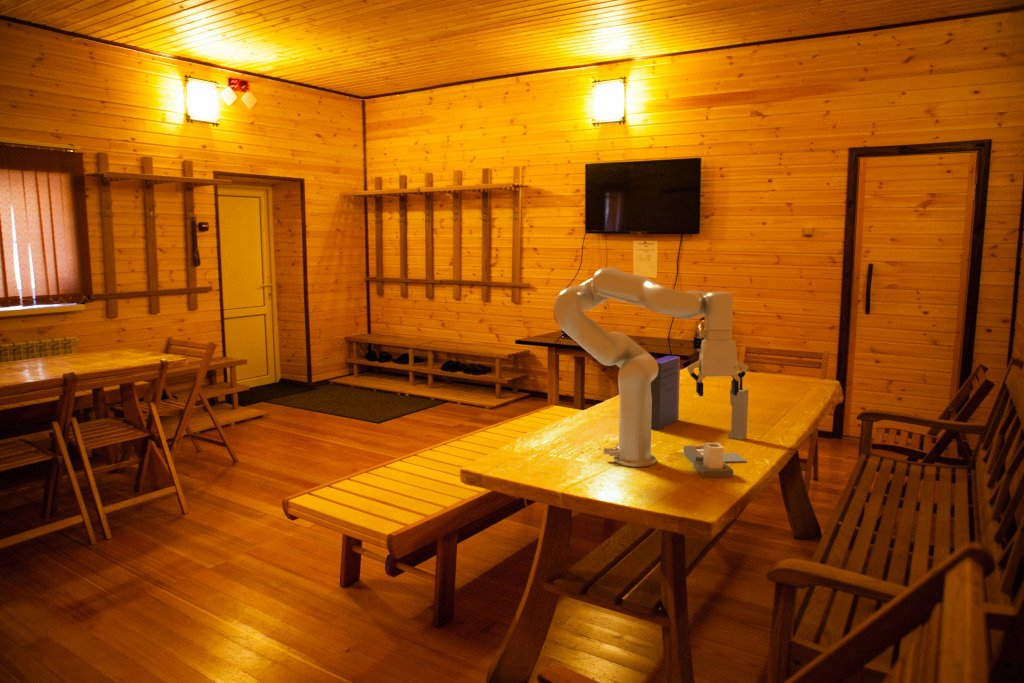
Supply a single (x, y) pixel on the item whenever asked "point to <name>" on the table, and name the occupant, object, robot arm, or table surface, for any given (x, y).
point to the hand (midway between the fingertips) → (717, 395)
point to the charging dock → (697, 456)
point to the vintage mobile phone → (739, 413)
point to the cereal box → (665, 392)
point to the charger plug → (713, 456)
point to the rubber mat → (733, 458)
